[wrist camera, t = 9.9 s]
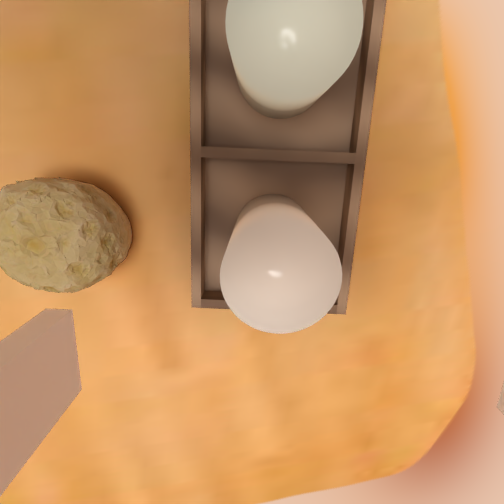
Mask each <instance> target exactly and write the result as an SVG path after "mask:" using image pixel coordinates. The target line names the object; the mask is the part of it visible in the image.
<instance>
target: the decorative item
mask: <svg viewBox="0 0 504 504" xmlns="http://www.w3.org/2000/svg"><path fill="white" fill-rule="evenodd" d="M16 182H17V183H16V184H10V185H6V186H4V187H3V188H2V189H1V191H0V267H1V268H2V269H3V271H4V272H5V273H6V274H7V275H8V276H9V277H11V278H12V279H14V280H17V281H18V282H20V283H21V284H23V285H26V286H30V287H33V288H34V289H37V290H45V291H49V292H57V293H61V292H67V293H68V292H70V293H73V292H77V291H80V290H82V289H85V288H88V287H90V286H92V285H93V284H95V283H97V282H99V281H101V280H102V279H104V278H106V277H107V276H109V275H111V273H112V271H114V269H115V268H116V267H117V266H118V264H119V263H121V262H122V261H123V260H124V259H125V258H126V257H127V253H128V250H129V248H130V244H131V243H132V230H131V224H130V221H129V219H128V217H127V216H126V214H125V213H124V212H123V210H122V209H121V207H120V206H119V205H118V204H117V203H116V202H115V201H114V200H113V199H112V198H111V196H110V195H108V194H107V193H106V192H104V191H103V190H101V189H99V188H97V187H96V186H95V185H92V184H89V183H83V182H79V181H75V180H72V179H64V178H60V177H59V179H58V178H35V179H34V180H25V181H23V182H22V181H16Z"/></svg>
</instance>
